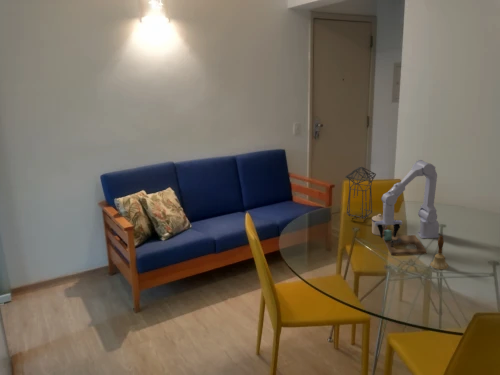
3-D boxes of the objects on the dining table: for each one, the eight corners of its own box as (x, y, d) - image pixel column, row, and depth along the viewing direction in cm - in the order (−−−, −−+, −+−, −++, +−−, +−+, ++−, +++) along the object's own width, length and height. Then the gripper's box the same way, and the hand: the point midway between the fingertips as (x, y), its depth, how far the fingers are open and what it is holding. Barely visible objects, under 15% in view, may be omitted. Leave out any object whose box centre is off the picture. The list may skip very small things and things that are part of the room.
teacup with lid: (384, 237, 247) (384, 218, 244) (369, 234, 253) (369, 215, 249) (391, 229, 256) (392, 211, 253) (376, 226, 262) (377, 208, 258)
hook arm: (400, 248, 233) (400, 238, 231) (400, 249, 232) (401, 239, 230) (390, 248, 233) (390, 238, 232) (391, 249, 232) (391, 239, 230)
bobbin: (390, 237, 242) (390, 229, 241) (392, 240, 239) (392, 232, 237) (383, 238, 243) (383, 229, 241) (385, 241, 239) (385, 232, 237)
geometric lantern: (352, 213, 285) (353, 162, 274) (375, 217, 276) (377, 165, 265) (342, 221, 273) (343, 168, 262) (366, 226, 264) (368, 171, 253)
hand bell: (427, 262, 216) (428, 233, 211) (443, 260, 216) (445, 231, 211) (435, 270, 208) (437, 240, 203) (451, 268, 209) (454, 238, 204)
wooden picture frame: (415, 237, 244) (415, 235, 243) (426, 253, 225) (426, 251, 224) (382, 238, 245) (382, 236, 245) (391, 255, 226) (391, 252, 226)
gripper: (400, 211, 239) (399, 233, 243) (373, 212, 240) (373, 234, 245) (403, 215, 233) (402, 238, 237) (376, 217, 234) (375, 239, 238)
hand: (388, 236), depth 240 cm, fingers open, 6 cm apart
